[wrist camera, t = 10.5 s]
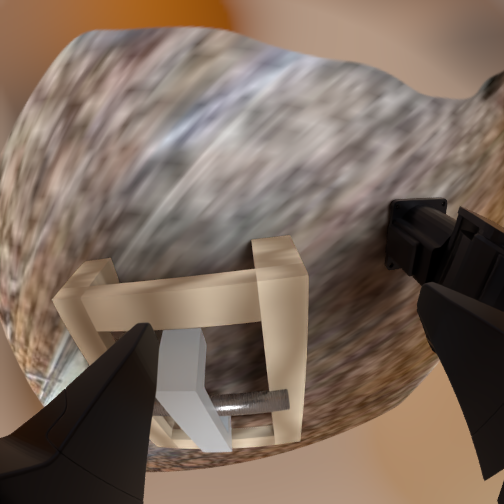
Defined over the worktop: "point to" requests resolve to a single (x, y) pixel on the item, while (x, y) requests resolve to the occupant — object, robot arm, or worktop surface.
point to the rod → (242, 403)
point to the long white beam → (190, 390)
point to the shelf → (205, 323)
